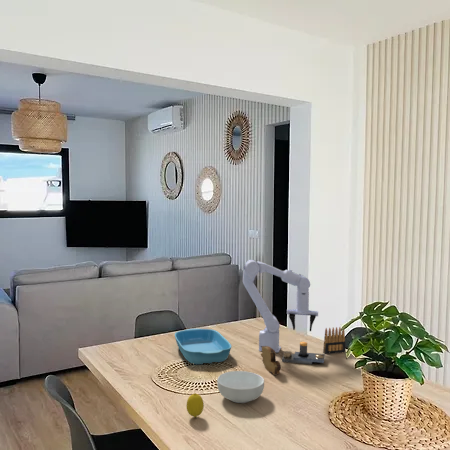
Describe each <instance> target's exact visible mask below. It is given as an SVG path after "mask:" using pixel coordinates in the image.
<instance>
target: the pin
mask: <svg viewBox="0 0 450 450" xmlns="http://www.w3.org/2000/svg"><path fill="white" fill-rule="evenodd" d="M299 352H300V357H307V353H308V342H307V341H300V342H299Z"/></svg>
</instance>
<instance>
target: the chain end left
mask: <svg viewBox="0 0 450 450" xmlns="http://www.w3.org/2000/svg"><path fill="white" fill-rule="evenodd" d="M294 354H295V353H292V351H288V350H286V351H283V354H282V358H281V363H291V364H300V365H303V364H304V365H313V362H308V361H298V360H293V357H294ZM299 357H300V356H299Z"/></svg>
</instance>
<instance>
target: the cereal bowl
mask: <svg viewBox="0 0 450 450" xmlns="http://www.w3.org/2000/svg"><path fill="white" fill-rule="evenodd" d="M216 383H217V389H218V392H219V394H221V396H222V397H223V398H225V399H227V400H230V401H231V402H233V403H236V404H246V403H249V402H251V401H255V400H257V399H258V398H260V397H261V395H262V393H263V392H264V388H265V379H264V377H263V376H261V375H260V374H257V373H255V372H251V371H245V370H233V371H232V370H231V371H226V372H223V373H221V374H220V375H219V376H218V377H217V381H216Z"/></svg>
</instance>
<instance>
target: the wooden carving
mask: <svg viewBox="0 0 450 450" xmlns="http://www.w3.org/2000/svg"><path fill="white" fill-rule="evenodd" d="M276 354H277V352H275V351H274V350H273V349H272V348H271V347H269V346H262V351H261V353H260V357H262V360H261V361H262V364H263V366H264V367H265V369H266V370H267V371H268V372H269V373H272V374H273V375H274V376H276V375H278V374H280V373H281V372H280V371H281V370H282V367H281V363H280V361H279V360H276V359H277V358H276V356H277V355H276Z"/></svg>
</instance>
